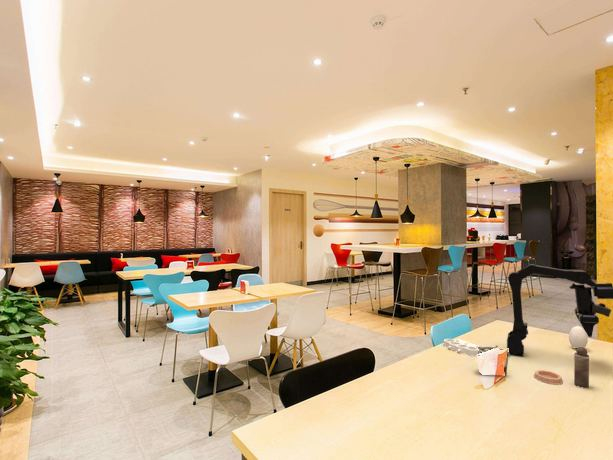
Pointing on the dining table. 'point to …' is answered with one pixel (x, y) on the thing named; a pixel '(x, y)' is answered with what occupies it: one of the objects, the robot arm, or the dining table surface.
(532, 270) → the robot arm
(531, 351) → the dining table surface
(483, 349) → the food container
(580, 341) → the egg
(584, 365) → the pepper mill
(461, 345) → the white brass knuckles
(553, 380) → the dish
